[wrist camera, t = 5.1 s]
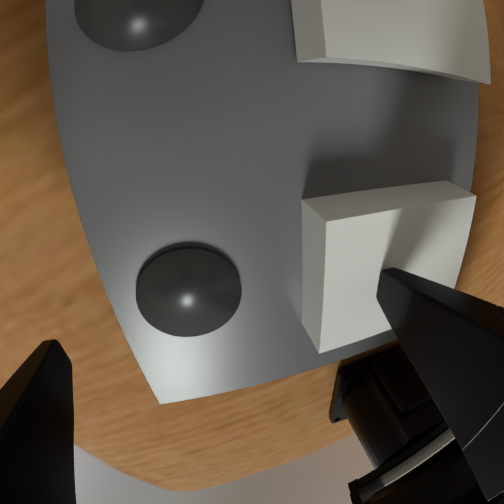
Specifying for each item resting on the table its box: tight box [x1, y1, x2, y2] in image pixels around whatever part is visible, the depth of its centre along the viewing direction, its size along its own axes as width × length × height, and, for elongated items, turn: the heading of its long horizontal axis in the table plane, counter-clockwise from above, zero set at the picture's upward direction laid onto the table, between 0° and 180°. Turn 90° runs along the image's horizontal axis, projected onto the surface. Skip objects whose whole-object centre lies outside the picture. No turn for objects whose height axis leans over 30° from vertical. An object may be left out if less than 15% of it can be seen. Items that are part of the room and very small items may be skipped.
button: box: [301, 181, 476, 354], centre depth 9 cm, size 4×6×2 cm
